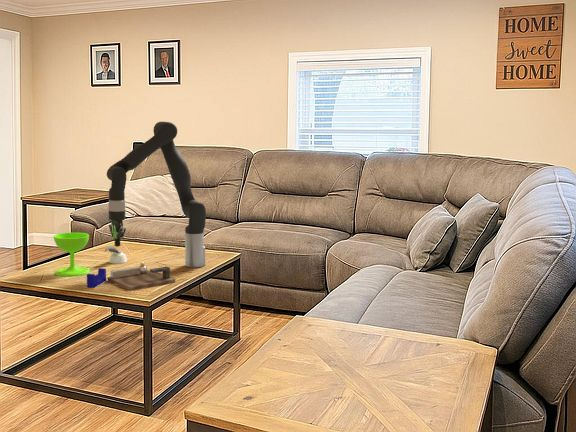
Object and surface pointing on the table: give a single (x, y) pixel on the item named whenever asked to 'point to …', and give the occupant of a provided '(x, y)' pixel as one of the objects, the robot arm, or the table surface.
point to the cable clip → (96, 278)
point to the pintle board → (144, 279)
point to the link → (129, 271)
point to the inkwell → (116, 256)
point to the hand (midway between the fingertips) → (117, 246)
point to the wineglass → (71, 252)
